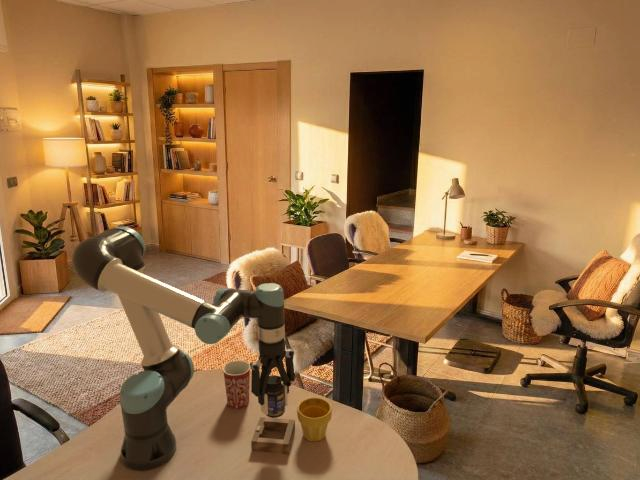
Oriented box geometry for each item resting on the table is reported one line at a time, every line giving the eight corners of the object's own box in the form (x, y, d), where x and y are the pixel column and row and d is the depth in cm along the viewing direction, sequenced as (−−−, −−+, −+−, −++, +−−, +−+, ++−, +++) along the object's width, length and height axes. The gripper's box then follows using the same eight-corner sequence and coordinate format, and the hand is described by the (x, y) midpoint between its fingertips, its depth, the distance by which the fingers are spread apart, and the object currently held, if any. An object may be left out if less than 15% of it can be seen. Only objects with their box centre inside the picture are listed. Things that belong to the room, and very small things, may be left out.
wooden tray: (251, 451, 143) (251, 440, 142) (260, 426, 153) (260, 416, 152) (288, 454, 142) (288, 443, 140) (295, 429, 152) (294, 419, 151)
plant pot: (327, 448, 144) (328, 420, 141) (293, 443, 146) (293, 415, 143) (333, 425, 154) (334, 399, 151) (302, 421, 156) (301, 395, 153)
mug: (249, 411, 161) (248, 375, 157) (222, 410, 161) (220, 374, 157) (255, 388, 173) (253, 354, 169) (229, 388, 173) (227, 354, 169)
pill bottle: (281, 420, 141) (280, 386, 138) (261, 417, 142) (259, 384, 139) (287, 407, 147) (286, 375, 143) (268, 404, 148) (266, 372, 145)
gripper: (248, 353, 129) (252, 427, 136) (306, 332, 140) (307, 401, 147) (235, 342, 135) (239, 414, 141) (291, 323, 146) (293, 390, 152)
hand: (274, 407), depth 144 cm, fingers closed on pill bottle, 6 cm apart
